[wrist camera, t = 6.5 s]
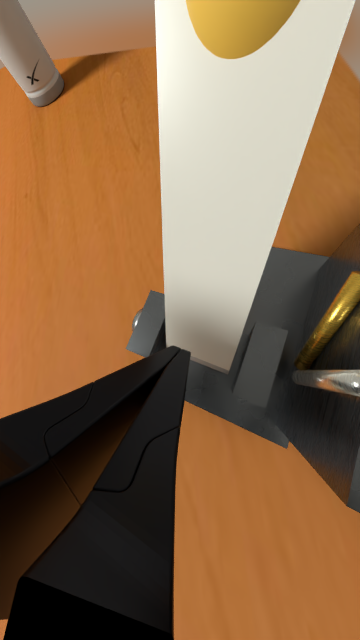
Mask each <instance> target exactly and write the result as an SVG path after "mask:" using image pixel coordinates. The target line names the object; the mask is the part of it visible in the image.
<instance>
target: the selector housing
mask: <svg viewBox="0 0 360 640" xmlns="http://www.w3.org/2000/svg"><path fill="white" fill-rule="evenodd" d="M132 331H133V333H132V336H131V338H130V340H129V343H128V345H127V347H126V349H127V350H129V351H132V352H134V353H136V354H139V355H141V356H143V357H148V356H150V355H152V354H155V353H157V352H159V351H161V350H163V349H165V348H166V324H165V294H162V293H159V292H155V291H152V290H151V291H150V293H149V296H148V298H147V300H146V303H145V305H144V307H143V308H142V309H141V310H139V311H138V313H137V314H136V316H135V318H134V320H133V324H132ZM185 401H187V402H189V403H191V404H194V405H196V406H198V407H200V408H202V409H204V410H206V411H208V412H210V413H213V414H215V415H217V416H219V417H221V418H223V419H225V420H227V421H229V422H232V423H234V424H236V425H238V426H240V427H242V428H244V429H246V430H248V431H251V432H253V433H255V434H257V435H259V436H261V437H263V438H265V439H267V440H270V441H272V442H274V443H276V444H278V445H280V446H282V447H284V448H286V449H287V447H288V443H289V441H290V442H291V443H292V444H293V445H294V446H295V447H296V449H297V450H298V451H299V452H300V453H301V454H302V455H303V457H304V458H305V459H306V460H307V461H308V462H309V463H310V465H311V466H312V467H313V468H314V469H315V470H316V472H317V473H318V474H319V475H320V476H321V477H322V478H323V480H324V481H325V482H326V483H327V484H328V485H329V486H330V488H331V489H332V490H333V491H334V492H335V493H336V494H337V496H338V497H339V498H340V499H341V500H342V501H343V502H344V504H345V505H346V506H347V507H349V508H351V509H353V510H355V511H357V512H359V513H360V224H359V225H358V226H357V227H356V228H355V229H354V231H353V232H352V233H351V234H350V235H349V236H348V237H347V238H346V239H345V241H344V242H343V243H342V244H341V245H340V246H339V247H338V248H337V249H336V251H335V252H334V253H333V254H332V255H331V256H330V257H326V256H320V255H315V254H309V253H303V252H297V251H291V250H286V249H280V248H274V247H271V250H270V253H269V256H268V259H267V261H266V264H265V267H264V270H263V273H262V276H261V279H260V282H259V285H258V288H257V291H256V294H255V297H254V300H253V303H252V306H251V308H250V311H249V314H248V317H247V320H246V323H245V326H244V329H243V332H242V335H241V338H240V341H239V344H238V347H237V350H236V353H235V355H234V358H233V361H232V364H231V367H230V370H229V373H228V375H227V374H225V373H222V372H220V371H217V370H215V369H212V368H210V367H207V366H205V365H202V364H200V363H197V362H195V361H192V360H190V364H189V371H188V378H187V385H186V393H185Z"/></svg>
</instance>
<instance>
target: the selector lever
mask: <svg viewBox="0 0 360 640" xmlns="http://www.w3.org/2000/svg"><path fill="white" fill-rule="evenodd" d="M354 3H355V0H155V22H156V52H157V82H158V112H159V143H160V173H161V203H162V233H163V263H164V293H165V324H166V348H168V347H170V346H172V345H174V346H177V347H179V348H181V349H185V350H187V351H190V352H191V357H190V360H192V361H195V362H197V363H200V364H202V365H205V366H207V367H210V368H212V369H215V370H217V371H220V372H222V373H225V374H227V375H228V373H229V370H230V367H231V364H232V361H233V358H234V355H235V353H236V350H237V347H238V344H239V341H240V338H241V335H242V332H243V329H244V326H245V323H246V320H247V317H248V314H249V311H250V308H251V306H252V303H253V300H254V297H255V294H256V291H257V288H258V285H259V282H260V279H261V276H262V273H263V270H264V267H265V264H266V261H267V259H268V256H269V253H270V250H271V247H272V244H273V241H274V238H275V235H276V232H277V229H278V226H279V223H280V220H281V217H282V214H283V212H284V209H285V206H286V203H287V200H288V197H289V194H290V191H291V188H292V185H293V182H294V179H295V176H296V173H297V170H298V167H299V165H300V162H301V159H302V156H303V153H304V150H305V147H306V144H307V141H308V138H309V135H310V132H311V129H312V126H313V123H314V120H315V118H316V115H317V112H318V109H319V106H320V103H321V100H322V97H323V94H324V91H325V88H326V85H327V82H328V79H329V76H330V73H331V71H332V68H333V65H334V62H335V59H336V56H337V53H338V50H339V47H340V44H341V41H342V38H343V35H344V32H345V29H346V26H347V23H348V21H349V18H350V15H351V11H352V9H353V6H354Z"/></svg>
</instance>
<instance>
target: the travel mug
mask: <svg viewBox="0 0 360 640" xmlns="http://www.w3.org/2000/svg"><path fill="white" fill-rule="evenodd" d="M0 59H1V61H2V62H3V63H4V65H5V66H6V68H7V69H8V70H9V72H10V73H11V74H12V76H13V77H14V79H15V80H16V81H17V83H18V84H19V85H20V87H21V88H22V89H23V91H25V93H26V95H27V96H28V98H29V99H30V100H31V102H32V103H33V104H34V105H35V106H38V107H42V106H46V105H48V104H50V103H51V102H53V101H54V100H55V99H56V98H57V97H58V96H59V95H60V94H61V92H62V90H63V87H64V81H63V79H62V77H61V75H60V74H59V72H58V70H57V69H56V68H55V65H54V63H53V61H52V60H51V58H50V56H49V54H48V53H47V51H46V49H45V48H44V46H43V44H42V42H41V40H40V39H39V37H38V35H37V33H36V32H35V30H34V28H33V26H32V25H31V23H30V21H29V19H28V17H27V16H26V14H25V12H24V10H23V9H22V7H21V5H20V3H19V2H18V0H0Z"/></svg>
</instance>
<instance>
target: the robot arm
mask: <svg viewBox="0 0 360 640" xmlns="http://www.w3.org/2000/svg"><path fill="white" fill-rule="evenodd" d="M190 357H191V352H190V351H187V350H185V349H181V348H179V347H177V346H174V345H172V346H170V347H168V348H165V349H163V350H161V351H159V352H157V353H155V354H152V355H150V356H148V357H146V358H144V359H142V360H139V361H137V362H135V363H133V364H131V365H129V366H126V367H124V368H122V369H120V370H118V371H116V372H113V373H111V374H109V375H107V376H105V377H103V378H100V379H98V380H96V381H95V382H91V383H89V384H87V385H85V386H83V387H81V388H78V389H76V390H74V391H71V392H69V393H67V394H64V395H62V396H59V397H57V398H54V399H52V400H49V401H47V402H44V403H41V404H38V405H36V406H33V407H30V408H28V409H25V410H22V411H20V412H17V413H14V414H12V415H9V416H6V417H3V418H1V419H0V620H3V619H8V623H7V627H6V631H5V635H4V639H3V640H174V532H175V484H176V463H177V452H178V443H179V436H180V427H181V421H182V414H183V407H184V400H185V393H186V385H187V378H188V371H189V364H190Z"/></svg>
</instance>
